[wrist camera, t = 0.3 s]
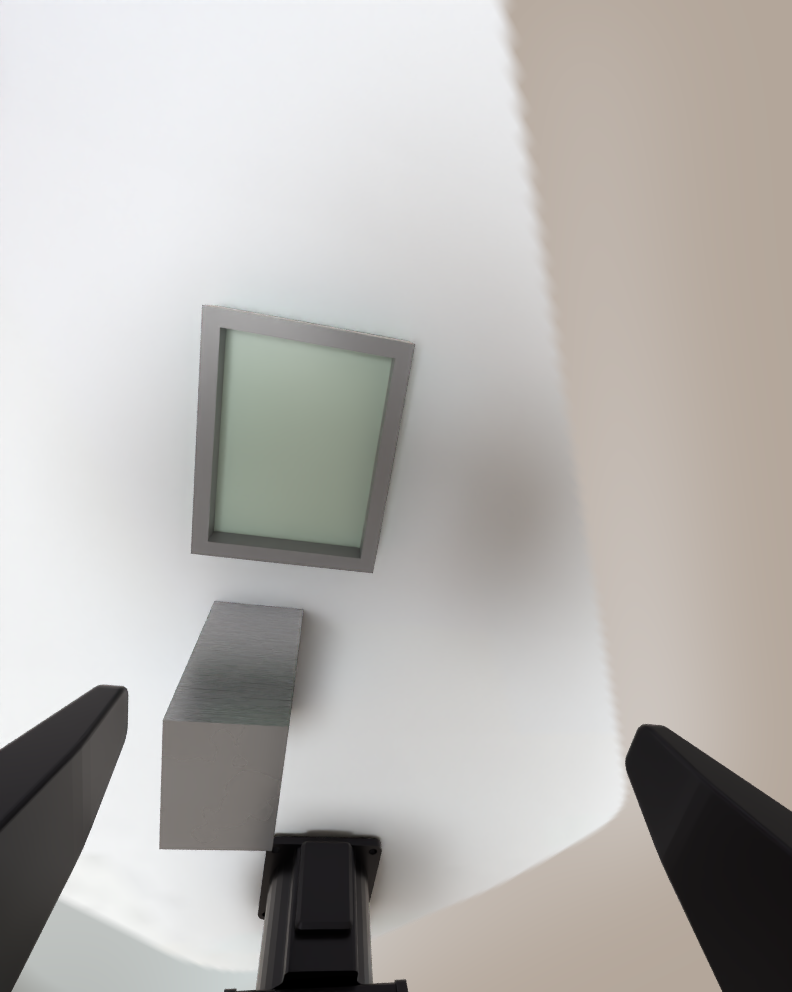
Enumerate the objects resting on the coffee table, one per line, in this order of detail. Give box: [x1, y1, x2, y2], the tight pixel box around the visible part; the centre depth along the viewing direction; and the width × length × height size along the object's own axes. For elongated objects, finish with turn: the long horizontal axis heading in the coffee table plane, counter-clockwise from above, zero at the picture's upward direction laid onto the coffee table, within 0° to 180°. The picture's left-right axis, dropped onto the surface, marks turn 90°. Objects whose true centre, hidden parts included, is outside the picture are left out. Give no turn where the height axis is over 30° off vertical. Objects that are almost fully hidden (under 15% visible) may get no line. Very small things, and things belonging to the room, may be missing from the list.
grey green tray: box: [191, 305, 415, 573], centre depth 19 cm, size 9×7×2 cm
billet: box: [159, 601, 303, 851], centre depth 20 cm, size 6×4×7 cm, turn 170°
